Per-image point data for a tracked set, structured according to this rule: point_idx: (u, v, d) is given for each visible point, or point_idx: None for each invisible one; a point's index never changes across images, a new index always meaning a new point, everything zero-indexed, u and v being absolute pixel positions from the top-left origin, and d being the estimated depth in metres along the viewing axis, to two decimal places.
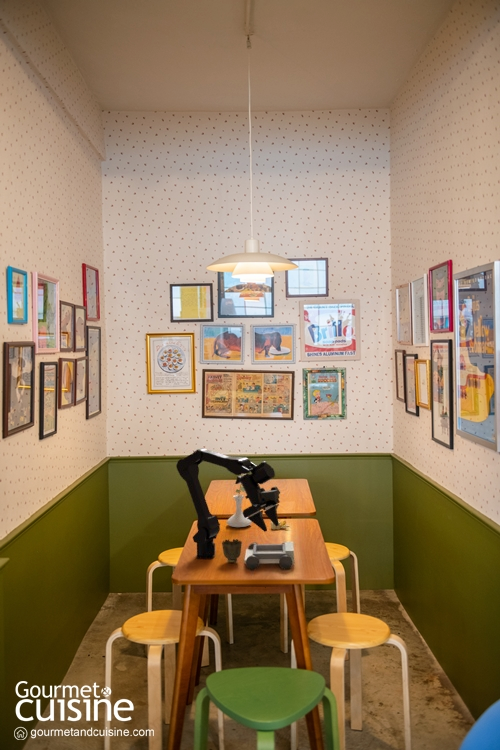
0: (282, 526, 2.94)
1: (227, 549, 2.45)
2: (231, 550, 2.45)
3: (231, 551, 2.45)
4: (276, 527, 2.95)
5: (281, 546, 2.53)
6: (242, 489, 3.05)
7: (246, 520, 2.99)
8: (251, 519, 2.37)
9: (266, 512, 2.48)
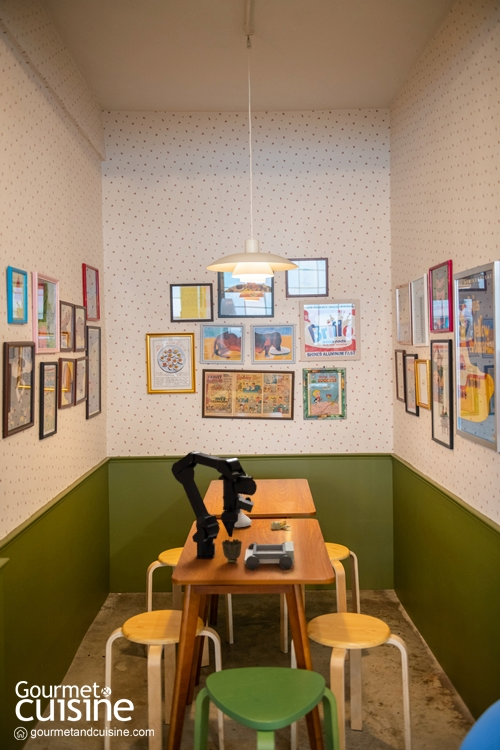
0: (282, 526, 2.94)
1: (227, 549, 2.45)
2: (231, 550, 2.45)
3: (231, 551, 2.45)
4: (276, 527, 2.94)
5: (281, 546, 2.53)
6: None
7: (246, 520, 2.99)
8: (224, 522, 2.42)
9: None
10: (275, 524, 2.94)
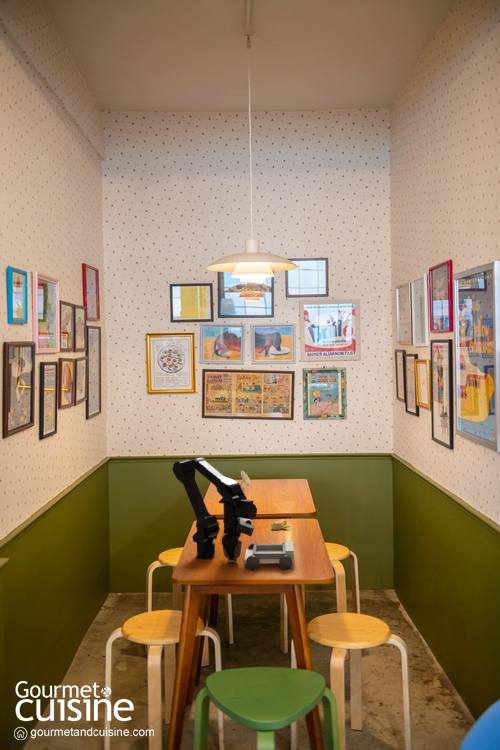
0: (283, 526, 2.94)
1: None
2: None
3: None
4: (277, 527, 2.94)
5: (281, 546, 2.53)
6: (242, 489, 3.05)
7: (246, 520, 2.99)
8: (225, 545, 2.43)
9: None
10: (275, 524, 2.94)
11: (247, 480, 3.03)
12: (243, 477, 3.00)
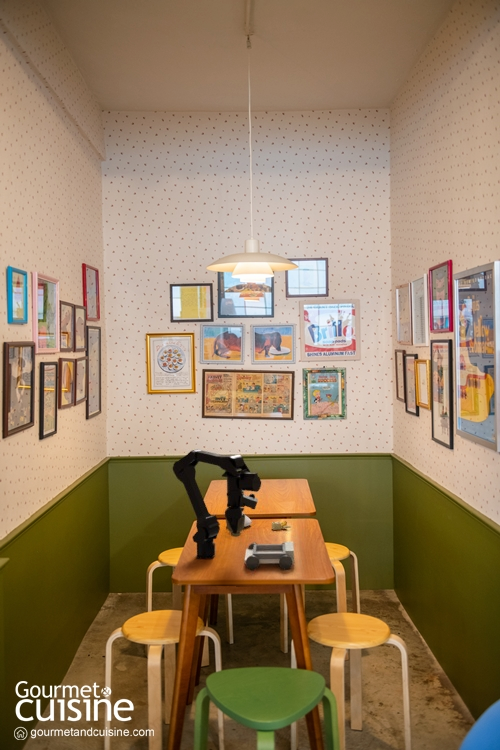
0: (283, 526, 2.93)
1: None
2: None
3: None
4: (277, 527, 2.94)
5: (281, 546, 2.53)
6: None
7: (246, 520, 2.99)
8: (228, 518, 2.43)
9: None
10: (276, 524, 2.94)
11: None
12: None
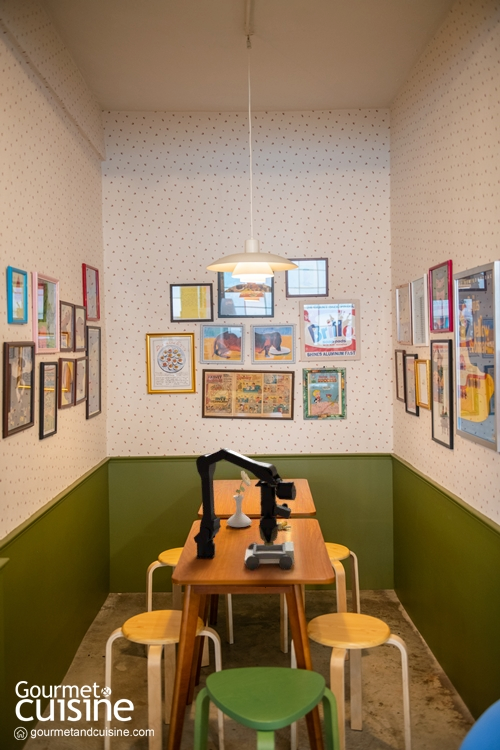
0: (283, 527, 2.93)
1: None
2: None
3: None
4: None
5: (281, 546, 2.53)
6: (242, 489, 3.05)
7: (246, 520, 2.99)
8: (262, 528, 2.42)
9: None
10: None
11: (247, 480, 3.03)
12: (243, 477, 3.00)
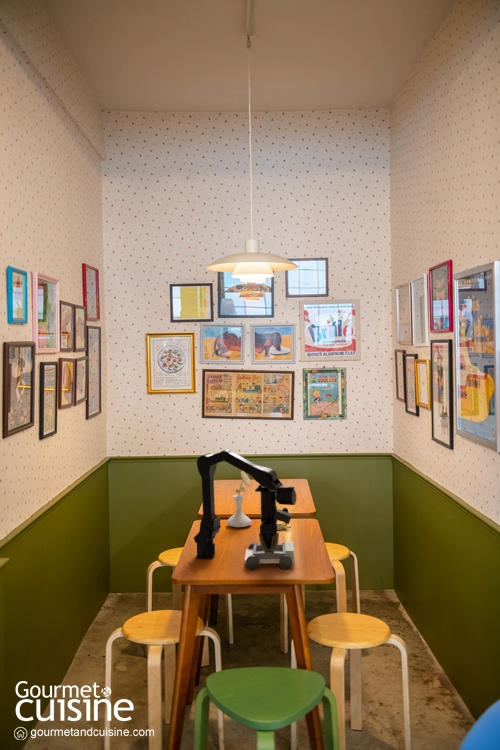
0: (284, 527, 2.93)
1: None
2: None
3: None
4: (278, 528, 2.93)
5: (281, 546, 2.53)
6: (242, 489, 3.05)
7: (246, 520, 2.99)
8: (262, 534, 2.41)
9: None
10: None
11: (247, 480, 3.03)
12: (243, 477, 3.00)
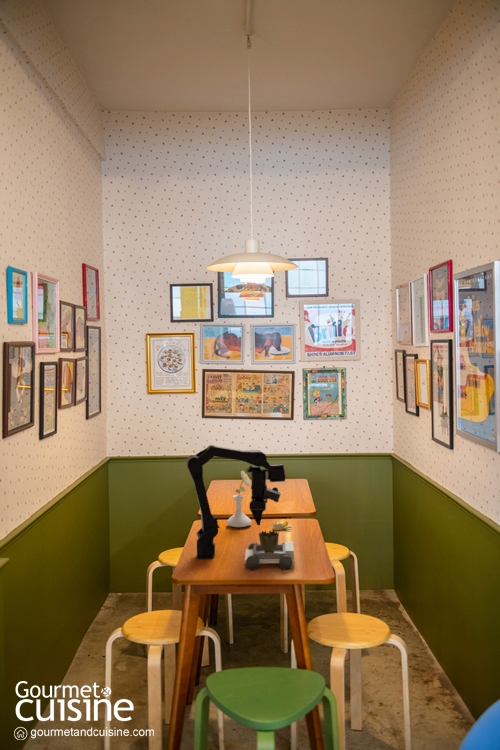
0: (284, 527, 2.93)
1: (264, 540, 2.45)
2: (269, 541, 2.44)
3: (269, 543, 2.44)
4: (278, 528, 2.93)
5: (281, 546, 2.53)
6: (242, 489, 3.05)
7: (246, 520, 2.99)
8: (252, 511, 2.54)
9: None
10: (277, 525, 2.93)
11: (247, 480, 3.03)
12: (243, 477, 3.00)
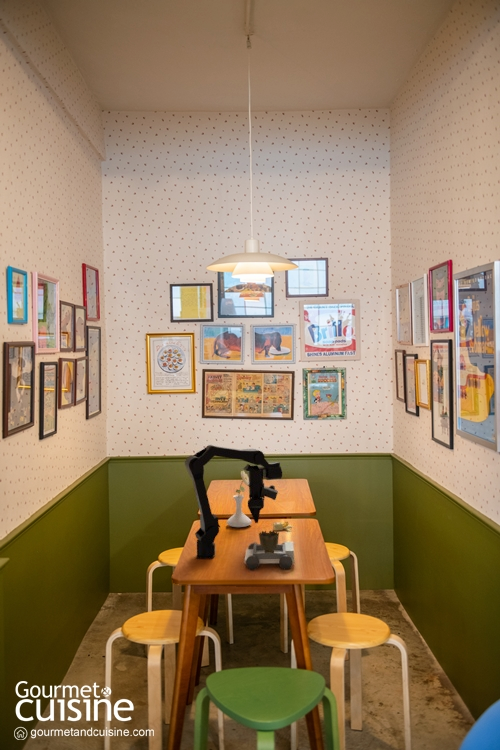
0: (284, 527, 2.92)
1: (264, 540, 2.45)
2: (269, 541, 2.44)
3: (269, 543, 2.44)
4: (278, 528, 2.93)
5: (281, 546, 2.53)
6: (242, 489, 3.05)
7: (246, 520, 2.99)
8: (250, 509, 2.57)
9: None
10: (277, 525, 2.92)
11: (247, 480, 3.03)
12: (243, 477, 3.00)
